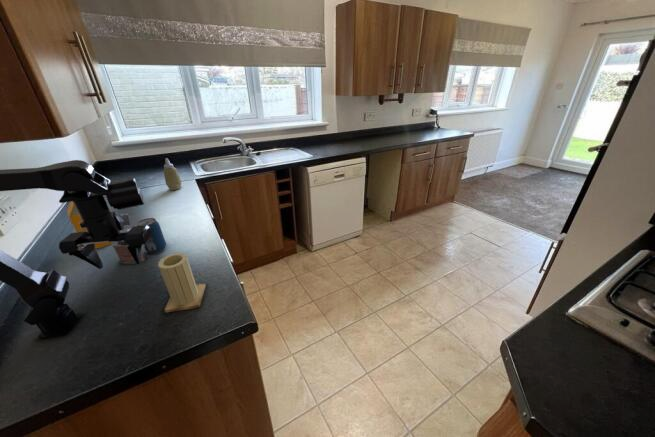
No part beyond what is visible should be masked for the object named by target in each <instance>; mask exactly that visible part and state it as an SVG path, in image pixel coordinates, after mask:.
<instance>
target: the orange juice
mask: <svg viewBox="0 0 655 437" xmlns="http://www.w3.org/2000/svg"><path fill="white" fill-rule="evenodd" d="M66 212H67V217H68V219H69V220H70V222H71V225H72V226H73V227H74V230H75V232H76V233H77V232H88V231H87V229H86V227H85V228H81V226H80V223H82V222H83V221H82V219H81V217H80V215H79V213H78V211H77V209H76V207H75V205H74V203H73V201H71V202H69V204H68V207H67V209H66ZM109 245H112V242H103V243H95V250H97V249H100V248H103V247H106V246H109Z"/></svg>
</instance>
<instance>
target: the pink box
mask: <svg viewBox="0 0 655 437" xmlns="http://www.w3.org/2000/svg"><path fill="white" fill-rule="evenodd" d="M112 242H113V243H111V246H112V247H113V248H114V250H115V252H116V255H117V257H118V259H119V262H120V264H121V265H122V264H124V265H126V264H127V265H132V264H137V263H136V262H135V260H134V258H133V257H132V255H131V253H130V252H129V250H128V248H127V247H128V246H129V245H128V244H126V242H125V240H121V241H112ZM145 260H146V258H145V256H143V253H142V252H141V262H140V264H141V263H143V262H144V261H145Z"/></svg>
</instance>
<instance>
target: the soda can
mask: <svg viewBox="0 0 655 437" xmlns="http://www.w3.org/2000/svg"><path fill="white" fill-rule="evenodd" d="M145 225H147V226H149V227H150V228H151V230H152V232H153V234H152V235H151V236H150V238H149V239H148V241H147V242H146V243H145V244H143V245H142V246H143V248H144V250H145V251H146V252H147V253H148V254H151V255H153V254H159V253H161V252H163V251H164V250H165V249H166V247H167V242H166V239H165V236H164V234H163V231H162V228H161V225H160V222H159V221H157V220H156V218H154V217H148V218H144V219H141V220H139V221H138V222H137V223H136V226H145Z"/></svg>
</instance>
